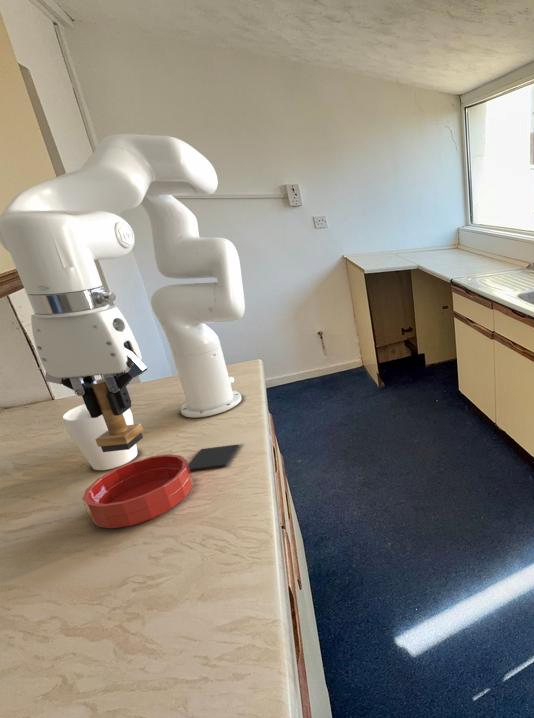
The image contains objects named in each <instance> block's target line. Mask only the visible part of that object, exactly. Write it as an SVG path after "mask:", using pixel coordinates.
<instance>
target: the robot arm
mask: <svg viewBox="0 0 534 718" xmlns="http://www.w3.org/2000/svg"><path fill="white" fill-rule="evenodd" d="M218 186H219V179H218V175H217V172H216V170H215V167H214V165H213V164H212V163H211V162H210V161H209V160H208V158H206V157H205V156H204V155H203V154H202V153H200V152H199V151H198V150H197V149H196V148H194V147H193V146H192V145H190V144H189V143H188V142H185V141H184V140H182V139H180V138H177V137H174V136H169V135H161V134H160V135H158V134H139V133H115V134H111V135H108V136H106V137H104V138H103V139H102V140H101V141H100V142H99V143H98V145H97V146H96V147H95V149H94V150H93V152H92V153H91V155H90V156H89V157H88V158H87V159H86V161H85V163H83V165H82V167H81V168H80V169H76V170H73V171H70V172H67V173H66V172H65V173H64V174H61V175H58V176H56V177H53V178H50V179H47V180H45V181H41V182H39V183H36V184H34V185H31V186H29V187H28V188H25V189H24V190H21V191H20V192H19V193H18V194H16V195H15V197H14V198H12V199H11V201H10V202H9V203H8V204H7V205H6V206H5V208H4V209H3V210H2V212H1V214H0V245H1V246H2V247H3V248H4V249H5V250H6V251H7V252H8V253H9V254H10V256H11V259H12V262H13V264H14V266H15V269H16V272H17V273H18V276H19V279H20V282H21V283H22V286H23V288H24V291H25V293H26V296H27V298H28V301H29V303H30V306H31V308H32V310H33V311H32V312H33V314H31V315H30V321H31V332H32V336H33V340H34V344H35V348H36V350H37V355H38V358H39V360H40V362H41V365H42V367H43V369H44V370H45V375H44V380H45V381H46V382H48V383H52V384H57V385H63V386H64V387H66V388H68V389H70V390H72V391H73V393H74V394H75V395H76V396H79V397H81V398H82V400H83V404H85V405H86V408H87V410H88V411H89V413H90V416H91V418H97V417H99V416H100V415H102V412H101V410H100V407H99V404H98V401H97V399H96V396H95V393H94V391H93V388H92V385H91V383H92V382H93V381H96V380H97V379H96V378H95V376H102V377H103V379H105V382H106V384H107V387H108V389H109V391H110V392H109V393H108V394H107V395H106V396H107V399H108V401H109V404H110V407H111V409H112V412H113V415H115V416H118V415H121V414H123V413H124V412H125V411H127V410H128V409H129V408H130V409H131V408H132V399H131V396H130V394H129V391H128V388H127V386H128V385H129V384H130V382H131V381H132V380H133V379H134V378H137V377H138V376H140V375H143V374H144V373H145V372H147V371H148V367H147V366H146V365H145V363H143V361H142V359H143V357H142V352H141V350H140V347H139V345H138V342H137V340H136V338H135V335H134V333H133V330H132V329H131V327H130V325H129V323H128V321H127V319H126V318H125V317H124V315H123V313H122V312H121V310H120V309H119V308H118V306H117V305H110V302H114V301H116V298H117V297H116V294H115V293H114V292H113V291H106V288H105V287H104V285H103V283H102V280H101V277H100V274H99V273H100V272H99V271H98V268H97V265H96V262H95V261H98V260H99V261H101V260H103V261H104V260H115V259H119V258H123V257H125V256H126V255H128V254H129V253H130V252H131V251H132V250H133V248H134V245H135V241H136V240H135V239H136V237H135V233H134V231H133V228H132V227H131V225H130V224H129V222H128V221H126V219H124V218H123V217H120V215H117V214H121V213H123V212H127V211H130V210H133V209H135V208H137V207H138V206H139V205H141V206H142V207H143V209H144V210H145V212H146V213H147V216H148V218H149V222H150V227H151V228H150V229H151V234H152V235H151V236H152V246H153V251H154V258H155V259H154V260H155V264H156V268H157V269H158V272H159V273H160V274H161V275H162V276H163V277H165V278H169V279H173V280H174V279H175V280H188V279H209V278H210V279H212V278H215V279H216V280H217V281H216V282H196V283H195V282H194V283H193V282H191V283H178V284H176V283H175V284H170V285H165V286H162V287H160V288H157V289H156V290H155V291H154V292H153V293H152V295H151V298H150V304H151V305H150V306H151V309H152V312H153V313H154V315H155V317H156V318H157V320H158V322H159V324H160V325H161V327H162V330H163V331H164V334H165V336H166V340H167V342H168V345H169V348H170V352H171V355H172V358H173V361H174V362H173V363H174V364H175V368H176V371H177V375H178V378H179V381H180V384H181V388H182V392H183V394H184V399H185V401H186V402H185V403H183V404H182V406H180V412H181V415H182V416H184V417H187V418H206V417H210V416H215V415H218V414H221V413H224V412H227V411H230V410H231V409H233V408H235V407H236V406H237V405H238V404H240V403H241V401H242V394H241V393H240V392H239V391H236V390H233V388H232V384H233V383H234V382H235V378H234V377H233V376H229V375H230V374H229V372H228V368H227V365H226V360H225V357H224V352H223V348H222V345H221V340H220V338H219V336H218V334H217V333H216V332H215V331H214V330H213V329H212V328H211V327H210V326H208V325H207V324H212V323H213V324H215V323H224V322H233V321H237V320H239V319H242V318H243V316H244V315H245V312H246V300H245V291H244V284H243V276H242V268H241V267H242V266H241V261H240V256H239V253H238V251H237V248H236V246H235V244H234V243H233V242H232V241H231V240H229V239H227V238H225V237H219V236H204V237H201V236H200V231H199V225H198V224H199V223H198V219H197V216H196V215H195V214H194V213H193V212H192V210H190V209H189V208H188V207H187V206H186V205H185V204H183V203H182V202H181V201H179V200H178V198H176V197H175V196H209V195H212V194H214V193H215V192H216V191H217V189H218ZM127 368H128V369H129V370H127ZM126 370H127V371H126Z"/></svg>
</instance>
